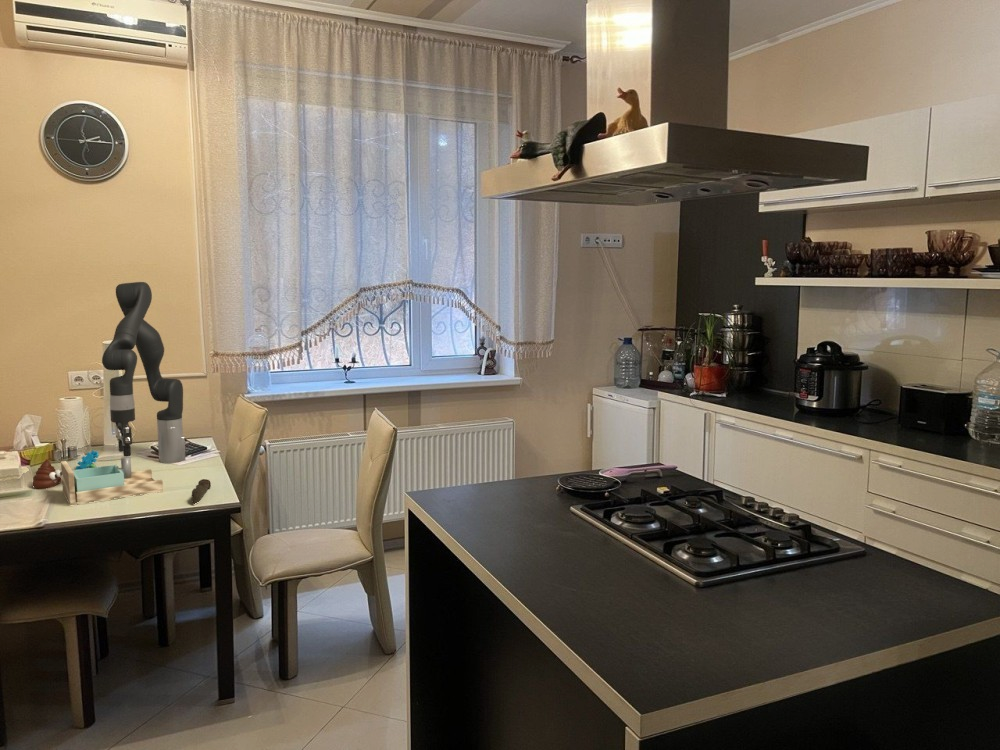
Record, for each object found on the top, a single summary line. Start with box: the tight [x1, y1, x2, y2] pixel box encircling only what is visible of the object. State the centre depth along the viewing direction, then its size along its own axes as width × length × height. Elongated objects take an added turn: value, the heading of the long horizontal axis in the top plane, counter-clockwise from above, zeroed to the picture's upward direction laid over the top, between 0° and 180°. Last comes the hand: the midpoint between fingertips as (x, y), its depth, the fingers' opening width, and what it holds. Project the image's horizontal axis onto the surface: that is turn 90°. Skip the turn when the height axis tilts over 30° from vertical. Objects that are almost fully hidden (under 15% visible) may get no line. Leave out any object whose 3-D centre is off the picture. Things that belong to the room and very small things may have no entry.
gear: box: [75, 450, 99, 470], centre depth 283 cm, size 11×6×10 cm
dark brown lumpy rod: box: [191, 478, 212, 505], centre depth 253 cm, size 19×4×5 cm, turn 9°
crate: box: [72, 456, 132, 495], centre depth 254 cm, size 18×13×10 cm
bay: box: [60, 460, 164, 506], centre depth 256 cm, size 28×18×11 cm, turn 127°
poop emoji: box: [32, 458, 62, 490], centre depth 263 cm, size 10×8×9 cm
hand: (124, 453), depth 258 cm, fingers open, 8 cm apart
